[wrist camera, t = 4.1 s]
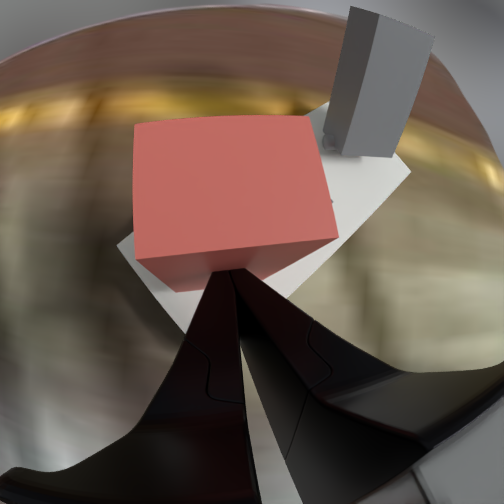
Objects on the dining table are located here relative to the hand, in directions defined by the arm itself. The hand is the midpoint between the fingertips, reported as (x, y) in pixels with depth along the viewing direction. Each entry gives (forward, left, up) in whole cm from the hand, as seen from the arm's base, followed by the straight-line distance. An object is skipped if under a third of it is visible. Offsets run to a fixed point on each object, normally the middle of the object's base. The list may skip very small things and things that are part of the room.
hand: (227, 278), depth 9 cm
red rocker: (+1, +2, -5) cm, 6 cm away
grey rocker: (+13, +2, -5) cm, 14 cm away
